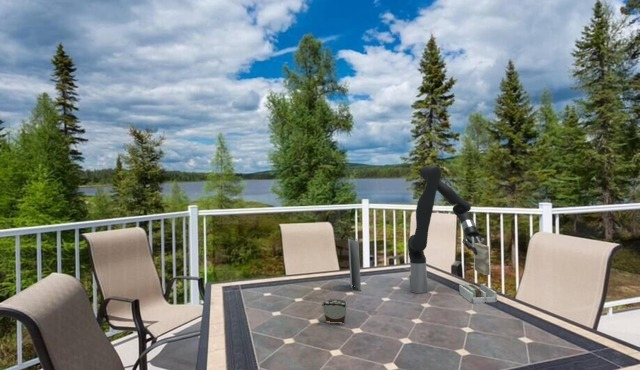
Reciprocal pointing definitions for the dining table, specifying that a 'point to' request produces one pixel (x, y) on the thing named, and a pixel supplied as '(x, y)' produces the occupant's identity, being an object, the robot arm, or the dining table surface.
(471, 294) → the rack
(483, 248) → the grey green board
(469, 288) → the sage offcut board
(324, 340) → the dining table surface
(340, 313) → the food container
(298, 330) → the dining table surface
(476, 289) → the grey green block
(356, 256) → the dark grey tall slab
